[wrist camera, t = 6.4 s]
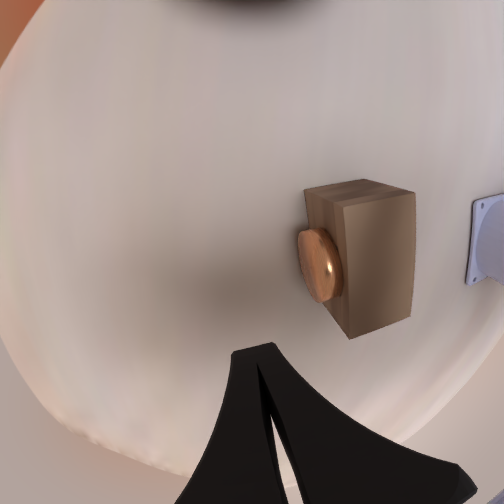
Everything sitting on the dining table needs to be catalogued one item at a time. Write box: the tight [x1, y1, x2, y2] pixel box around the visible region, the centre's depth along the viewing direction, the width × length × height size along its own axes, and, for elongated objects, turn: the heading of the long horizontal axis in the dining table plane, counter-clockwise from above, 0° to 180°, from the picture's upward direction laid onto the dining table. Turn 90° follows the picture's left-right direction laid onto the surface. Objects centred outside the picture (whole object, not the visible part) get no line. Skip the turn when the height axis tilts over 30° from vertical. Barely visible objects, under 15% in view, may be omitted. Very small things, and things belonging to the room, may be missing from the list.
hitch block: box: [304, 179, 416, 340], centre depth 15 cm, size 4×7×5 cm, turn 11°
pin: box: [298, 227, 343, 303], centre depth 15 cm, size 6×4×4 cm, turn 101°
